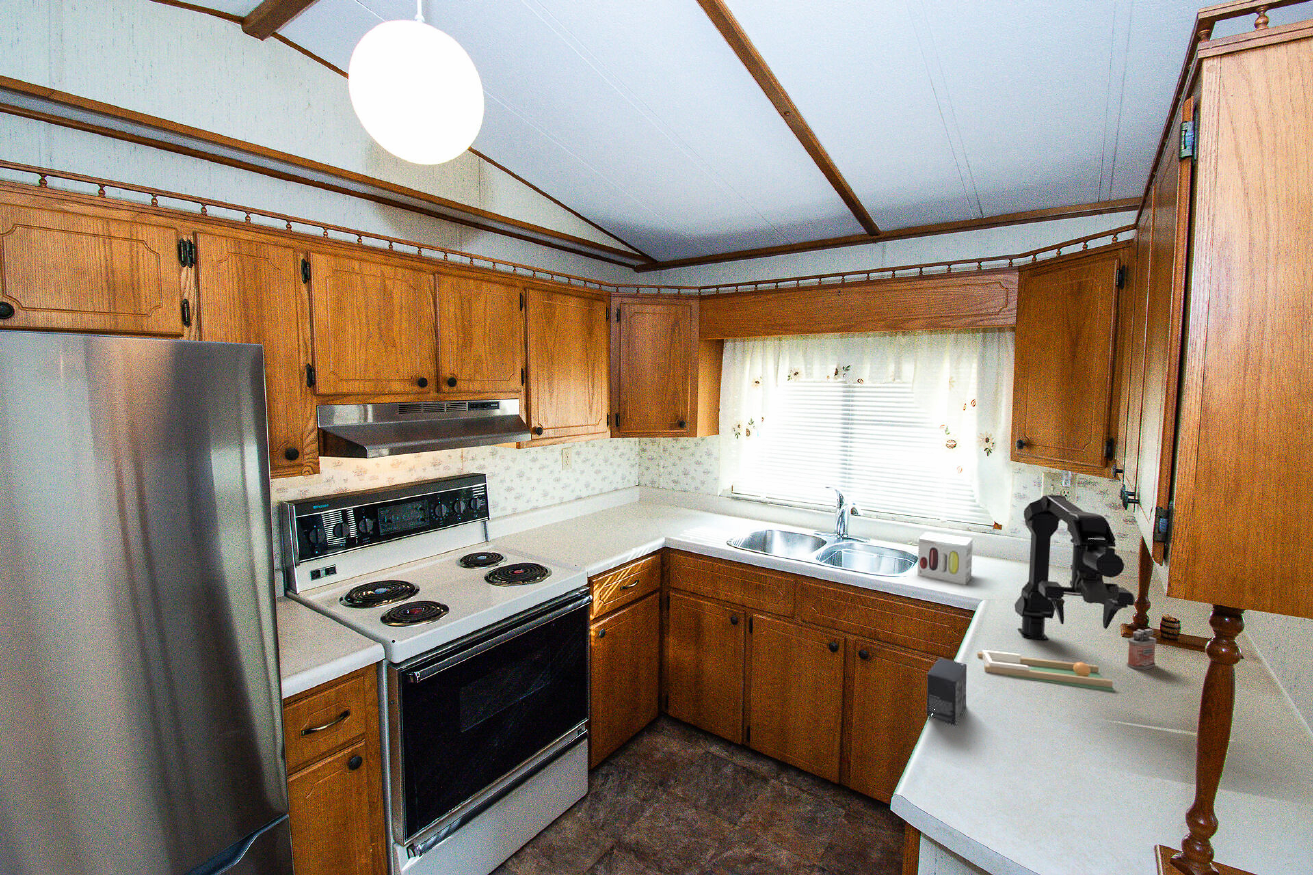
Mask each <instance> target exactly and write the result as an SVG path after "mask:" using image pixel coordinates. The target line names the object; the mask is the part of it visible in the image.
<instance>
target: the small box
mask: <svg viewBox="0 0 1313 875" xmlns="http://www.w3.org/2000/svg"><path fill="white" fill-rule="evenodd" d="M967 667H968V664H967V663H963V662H958V661H953V660H950V659H945V658H942V657H938V659H937V660H935V663H934V664H933V665H932V667H931V668H930V669H929V671H928V672H927V676H926V682H927V684H926V686H927V687H926V716H928V717H930V718H932V719H936V720H938V721H941V722H944V723H947V724H949V723H951V724H950V725H952V724H954V725H953V726H955V725H956V726H957V724H958V723H959V721H960V719H961V717H962V715H963V714H962V712H963V710H964V709H966V708H967V674H968V673H967V671H968V670H967ZM965 707H966V708H965ZM934 709H935V710H934ZM964 711H965V710H964ZM932 713H933V715H932V717H931V714H932ZM963 713H964V712H963ZM961 714H962V715H961ZM960 716H961V717H960ZM959 718H960V719H959ZM958 720H959V721H958ZM957 722H958V723H957ZM956 723H957V724H956Z"/></svg>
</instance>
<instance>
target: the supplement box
mask: <svg viewBox="0 0 1313 875" xmlns="http://www.w3.org/2000/svg"><path fill="white" fill-rule="evenodd" d="M973 540H974V539H973V537H968V536H958V535H953V534H952V535H951V534H943V533H936V532H929V531H926V532H925V533H923V534H921V536H920V537H919V538H918V549H917V550H918V554H917V576H919V577H925V578H929V579H934V580H938V581H943V582H944V581H945V582H949V583H953V584H954V583H955V584H959V585H964V586H965V585H967V583H968V582H969V581H970V580H971V578H972V567H973V565H972V564H973V543H974V542H973Z"/></svg>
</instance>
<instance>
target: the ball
mask: <svg viewBox="0 0 1313 875" xmlns="http://www.w3.org/2000/svg"><path fill="white" fill-rule="evenodd" d="M1074 663H1075V664H1074V666H1073V670H1074V672H1075V674H1077V675H1078V676H1084V677H1087V676H1088V675H1089V674H1090V668H1089V666H1088V665H1089V664H1088V665H1087V663H1085V662H1083V661H1077V662H1074Z"/></svg>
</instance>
